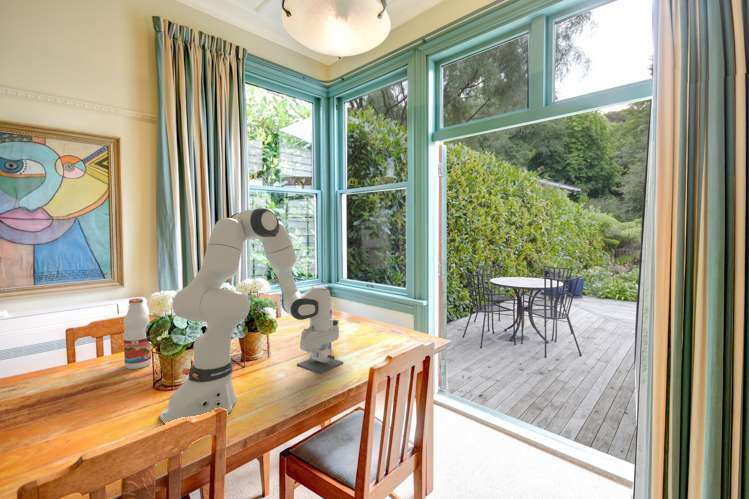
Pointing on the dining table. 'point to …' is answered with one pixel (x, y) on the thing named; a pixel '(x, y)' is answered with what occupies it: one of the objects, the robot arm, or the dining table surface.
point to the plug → (322, 354)
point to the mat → (319, 365)
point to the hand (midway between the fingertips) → (320, 355)
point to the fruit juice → (136, 336)
